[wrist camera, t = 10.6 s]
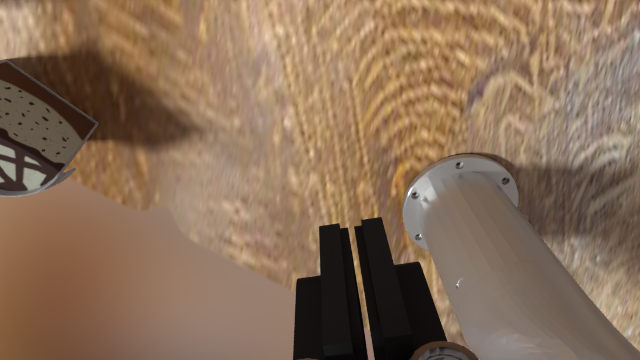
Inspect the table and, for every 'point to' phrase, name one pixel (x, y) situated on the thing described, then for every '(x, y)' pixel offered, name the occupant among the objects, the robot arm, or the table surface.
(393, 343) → the robot arm
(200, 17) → the table surface
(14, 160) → the food container
